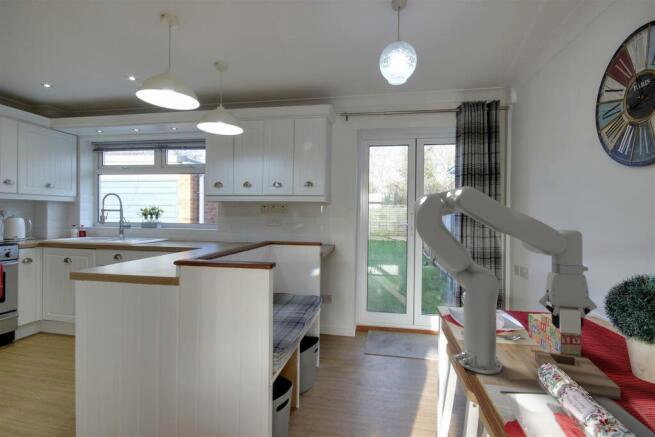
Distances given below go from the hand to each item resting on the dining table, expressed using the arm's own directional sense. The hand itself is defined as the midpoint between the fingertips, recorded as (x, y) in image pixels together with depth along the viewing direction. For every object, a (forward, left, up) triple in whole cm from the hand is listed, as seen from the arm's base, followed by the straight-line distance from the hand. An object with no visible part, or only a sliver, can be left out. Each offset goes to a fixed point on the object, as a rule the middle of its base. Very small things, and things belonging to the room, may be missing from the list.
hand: (567, 327), depth 93 cm
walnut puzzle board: (-3, -3, -13) cm, 14 cm away
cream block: (0, 0, -1) cm, 1 cm away
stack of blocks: (+11, +12, -14) cm, 22 cm away
